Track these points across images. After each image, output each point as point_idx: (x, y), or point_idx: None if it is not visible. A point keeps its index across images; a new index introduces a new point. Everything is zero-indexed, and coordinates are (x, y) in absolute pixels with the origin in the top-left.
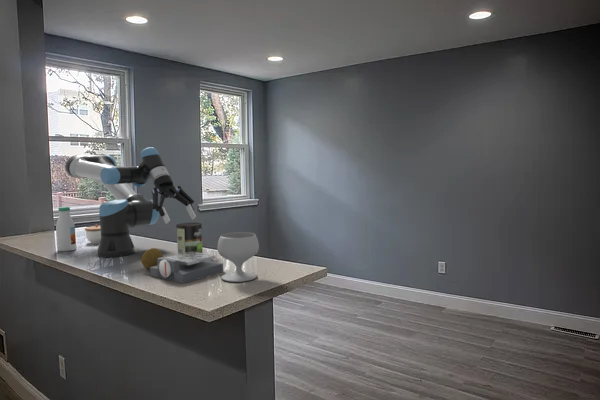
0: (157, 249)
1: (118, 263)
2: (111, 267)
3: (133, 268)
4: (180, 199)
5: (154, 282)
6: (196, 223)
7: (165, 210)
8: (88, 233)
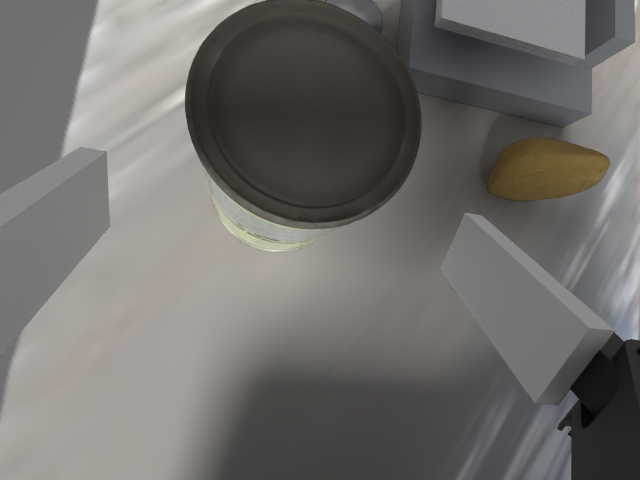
0: (553, 149)
1: (515, 414)
2: None
3: None
4: None
5: None
6: (219, 89)
7: (547, 286)
8: None
